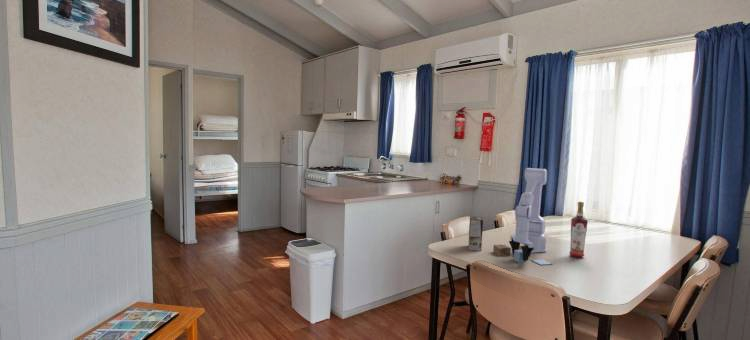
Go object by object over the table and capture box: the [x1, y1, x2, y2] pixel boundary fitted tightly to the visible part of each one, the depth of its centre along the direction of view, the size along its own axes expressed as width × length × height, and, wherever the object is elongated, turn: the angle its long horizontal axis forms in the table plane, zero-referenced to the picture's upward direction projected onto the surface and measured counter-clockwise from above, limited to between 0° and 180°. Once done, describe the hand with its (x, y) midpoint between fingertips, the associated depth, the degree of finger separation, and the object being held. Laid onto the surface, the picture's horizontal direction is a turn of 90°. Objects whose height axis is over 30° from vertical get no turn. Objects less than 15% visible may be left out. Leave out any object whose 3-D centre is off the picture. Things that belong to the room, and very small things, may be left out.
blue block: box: [513, 250, 527, 264], centre depth 178 cm, size 4×4×5 cm
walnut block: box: [492, 244, 512, 257], centre depth 189 cm, size 6×6×4 cm
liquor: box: [568, 201, 589, 259], centre depth 187 cm, size 7×7×28 cm
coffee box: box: [468, 216, 484, 252], centre depth 197 cm, size 9×6×16 cm
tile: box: [530, 258, 554, 266], centre depth 177 cm, size 7×7×1 cm
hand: (520, 258), depth 178 cm, fingers open, 7 cm apart
